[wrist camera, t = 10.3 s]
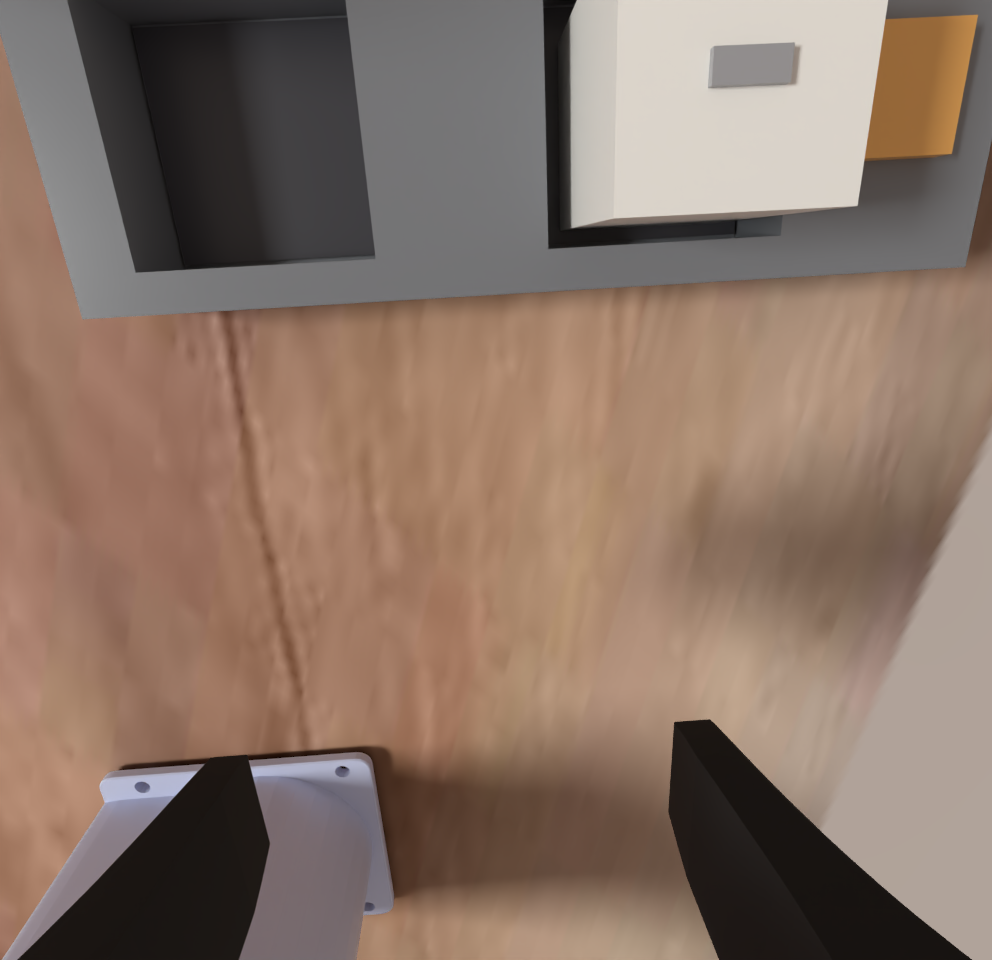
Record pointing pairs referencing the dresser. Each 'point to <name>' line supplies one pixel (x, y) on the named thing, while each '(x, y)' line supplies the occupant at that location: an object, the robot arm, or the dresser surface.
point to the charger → (713, 109)
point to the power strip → (424, 155)
